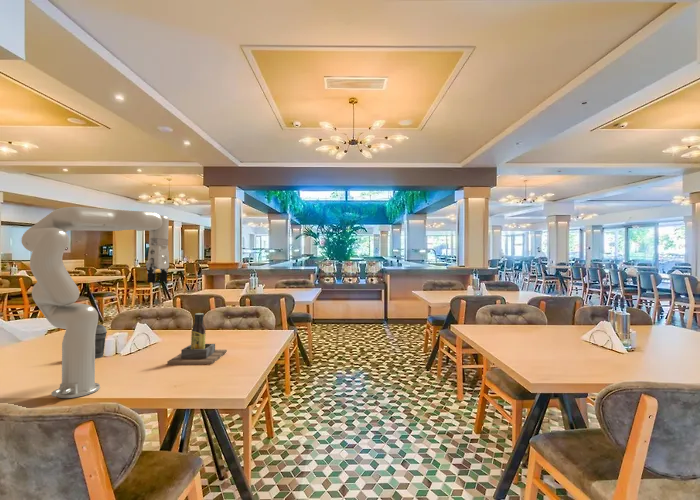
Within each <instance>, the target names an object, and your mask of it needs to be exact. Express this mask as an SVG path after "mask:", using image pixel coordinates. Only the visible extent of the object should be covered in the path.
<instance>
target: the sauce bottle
mask: <svg viewBox="0 0 700 500" xmlns="http://www.w3.org/2000/svg"><path fill="white" fill-rule="evenodd" d="M204 317H205V313H203V312H202V313H201V312H198V313H195V314H194V323H193V326H192V329H191V335H190V336H191V337H190V345H191V349H205V344H206V334H207V333H206V325H205V323H204Z"/></svg>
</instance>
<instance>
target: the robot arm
mask: <svg viewBox="0 0 700 500" xmlns="http://www.w3.org/2000/svg"><path fill="white" fill-rule="evenodd" d="M169 225H170V220H169V217H168V216H167V215H160V214H159V213H157V212H156V211H155V212H154V211H145V210H144V211H139V210H125V209H115V208H114V209H111V208H98V207H87V206H69V207H68V206H66V207H60V208H57V209H54V210H53V211H51V212H49V214H47V215H46V216H44V217H43V218H41V220H39V221H38V222H36V223H35V224H33V225H32V226H31V227H29V228H28V229H26V231H24V233H23V235H22V236H21V244H22V246H23V248H24V249H26V250H27V251H29V252H31V255H30V259H29V267H30V271H31V273H32V275H33V277H34V279H35V280H36V283H35V284H34V285H33V287H32V290H31V297H32V300H33V301H34V303H35V304H36V306H37V307H38V309H39V310H40V311H41V313H42V315H43V316H44V317H45V319H46V321H48V322H49V323H50V324H51V326H53V327H54V328H57V329H62V330H65V332H64V335H63V338H62V343H61V383H60V384H59V387H58V388H57V389H55V390H53V391H52V392H51V396H52V397H56V398H59V399H71V398H72V399H73V398H79V397H85V396H89V395H90V394H93V393H96V392H97V391H98V390H99V389H100V388H101V384H99V382H96V381H95V380H96V358H95V334H96V328H97V325H98V323H99V312H98V311H97V309H96V308H95V307H94V306H92V305H91V304H86V303H79V302H76V301H78V299H79V298H80V289H79V287H78V285H77V284H76V283H75V280H74V279H73V278H72V277H71V274H70V273H69V272H68V270H67V268H66V266H65V264H64V262H63V257H64V256H63V255H64V253H65V252H66V249H67V247H68V245H69V241H70V238H69V234H68V233H67V232H68V231H88V232H89V231H90V232H91V231H94V232H96V231H97V232H98V231H100V232H101V231H102V232H119V231H128V230H129V231H131V230H132V231H133V230H135V231H138V232H139V231H140V232H141V231H142V232H143V231H144V232H145V231H148V234H149V235H148V236H149V237H148V253H147V261H146V262H145V268H146V274H147V281H146V282H147V283H150V284H151V283H156V277H157V276H156V275H157V273H156V270H158V269H159V282H161V283H162V282H167V281H168V272H169V267H170V252H169V231H170V230H169Z"/></svg>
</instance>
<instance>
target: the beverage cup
mask: <svg viewBox="0 0 700 500" xmlns="http://www.w3.org/2000/svg"><path fill="white" fill-rule="evenodd" d="M107 333H108V332H107V328H106V327H105V326H104V325H103V324H97V328H96V334H95V359H101V358H103V357H104V354H105V345H106V344H105V343H106V338H107V337H106V336H107Z"/></svg>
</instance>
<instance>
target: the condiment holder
mask: <svg viewBox="0 0 700 500" xmlns="http://www.w3.org/2000/svg"><path fill="white" fill-rule="evenodd" d="M180 351H181V353H179V354H177V355H176V356H174V357H173V358H171V359H169V360H167V361H166V364H167V365H168V366H170V365H171V366H173V365H174V366H179V365H183V366H186V365H187V366H188V365H189V366H190V365H195V366H196V365H202V364H212V365H214V363H216V362H217V361H218V360H219V359H221V358H222V357H223V356H225V355H226V354H227V353H226V352H227V351H228V350H227V349H216V343H205V349H191V344H189V345H188V346H186V347H184V348H181V350H180ZM225 353H226V354H225ZM221 356H222V357H221ZM220 357H221V358H220ZM215 361H216V362H215Z"/></svg>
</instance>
